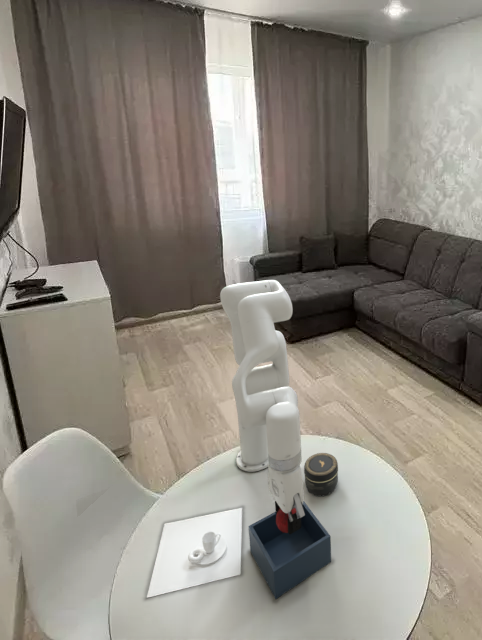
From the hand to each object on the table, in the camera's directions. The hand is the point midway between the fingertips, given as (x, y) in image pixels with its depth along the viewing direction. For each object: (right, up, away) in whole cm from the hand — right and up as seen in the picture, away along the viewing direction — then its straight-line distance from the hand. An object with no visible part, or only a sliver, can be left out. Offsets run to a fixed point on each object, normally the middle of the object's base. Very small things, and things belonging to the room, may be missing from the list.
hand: (288, 520), depth 99 cm
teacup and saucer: (-23, -10, +5) cm, 26 cm away
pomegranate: (0, -3, +1) cm, 3 cm away
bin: (0, -10, +2) cm, 11 cm away
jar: (+5, -5, +25) cm, 26 cm away
